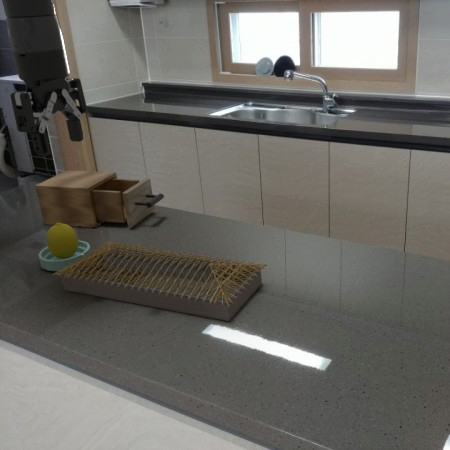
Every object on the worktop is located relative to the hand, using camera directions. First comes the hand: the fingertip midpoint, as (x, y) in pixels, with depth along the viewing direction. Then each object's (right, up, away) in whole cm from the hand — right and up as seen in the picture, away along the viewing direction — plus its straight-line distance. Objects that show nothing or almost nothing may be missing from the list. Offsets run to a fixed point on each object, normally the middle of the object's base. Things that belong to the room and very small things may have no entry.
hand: (61, 147), depth 90 cm
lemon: (-6, -20, +16) cm, 27 cm away
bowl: (-6, -20, +17) cm, 27 cm away
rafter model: (+16, -24, +6) cm, 29 cm away
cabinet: (-12, -11, +39) cm, 42 cm away
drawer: (0, -11, +36) cm, 37 cm away
